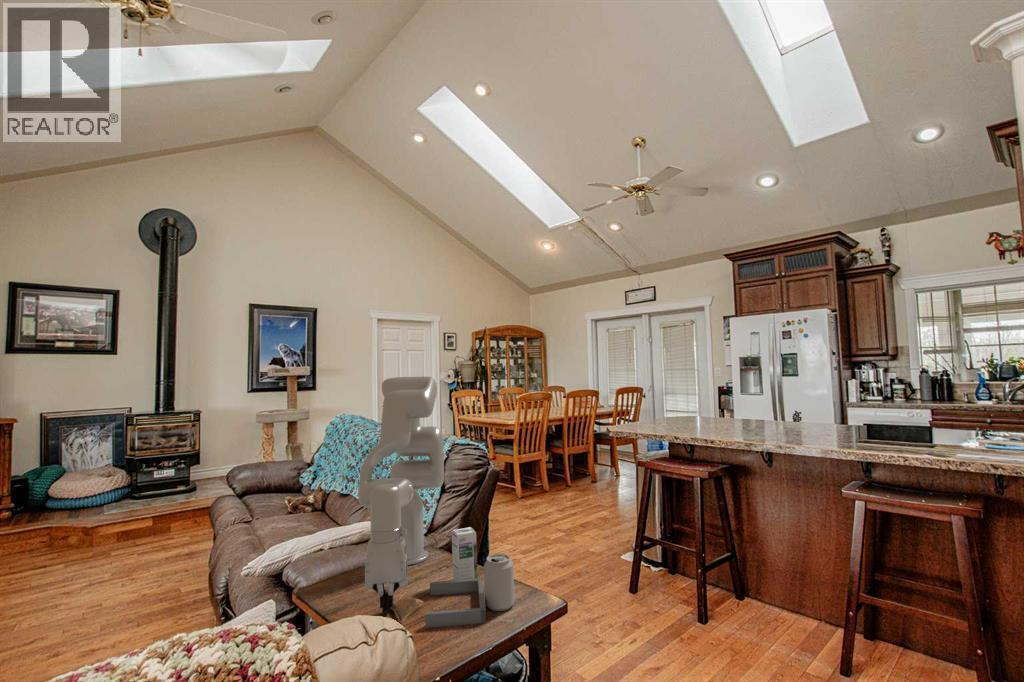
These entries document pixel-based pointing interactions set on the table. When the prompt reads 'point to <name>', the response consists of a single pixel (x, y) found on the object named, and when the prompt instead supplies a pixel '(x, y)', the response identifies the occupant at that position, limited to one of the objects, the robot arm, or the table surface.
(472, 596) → the table surface
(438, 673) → the table surface
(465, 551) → the syrup box
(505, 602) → the can
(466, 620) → the box
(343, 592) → the table surface
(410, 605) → the shard
